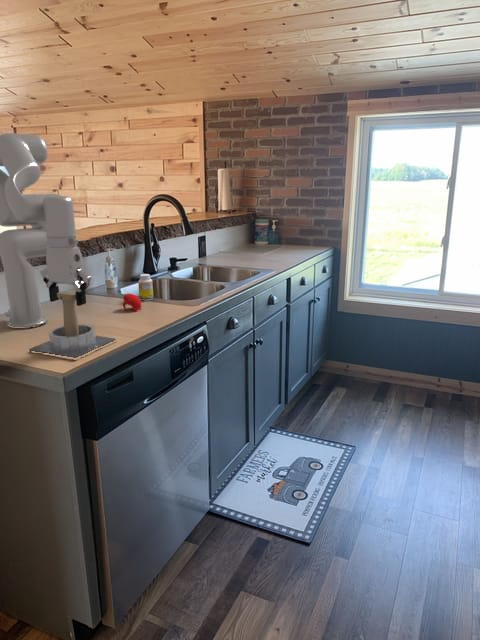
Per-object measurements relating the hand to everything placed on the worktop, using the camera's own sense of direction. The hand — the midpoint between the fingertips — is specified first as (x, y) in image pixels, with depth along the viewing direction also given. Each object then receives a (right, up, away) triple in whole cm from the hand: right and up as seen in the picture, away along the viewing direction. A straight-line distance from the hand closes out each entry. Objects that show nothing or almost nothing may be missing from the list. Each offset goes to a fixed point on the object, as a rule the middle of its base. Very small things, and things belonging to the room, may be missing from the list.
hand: (68, 302), depth 135 cm
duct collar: (0, -13, +3) cm, 13 cm away
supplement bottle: (+11, +3, +58) cm, 59 cm away
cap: (+9, -1, +43) cm, 44 cm away
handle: (0, -12, +3) cm, 13 cm away
